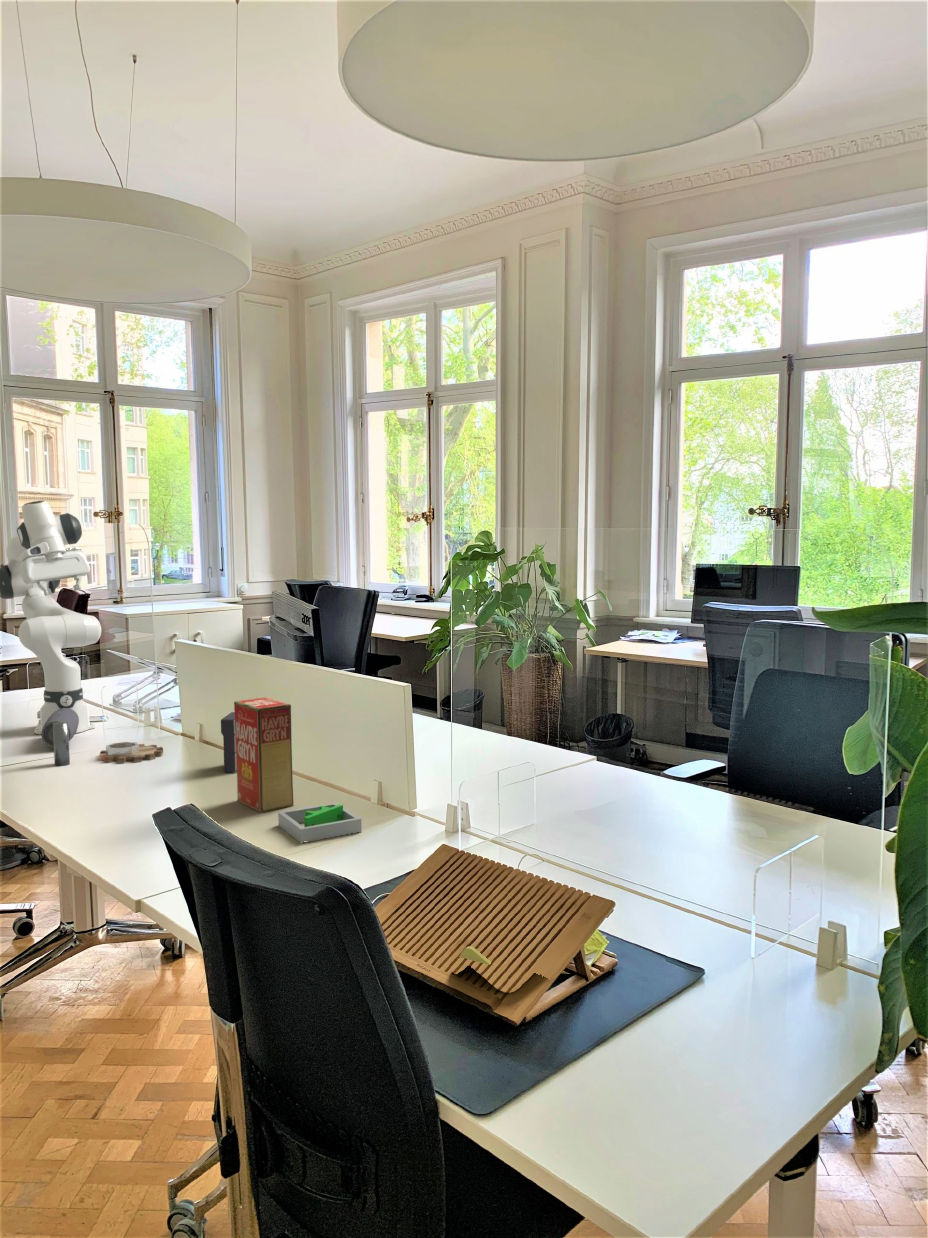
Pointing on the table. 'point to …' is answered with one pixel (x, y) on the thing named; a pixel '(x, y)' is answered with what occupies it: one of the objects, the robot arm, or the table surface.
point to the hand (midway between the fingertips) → (63, 592)
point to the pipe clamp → (323, 815)
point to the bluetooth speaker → (60, 716)
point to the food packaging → (264, 754)
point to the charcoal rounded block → (229, 743)
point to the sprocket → (129, 752)
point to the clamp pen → (316, 832)
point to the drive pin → (61, 743)
